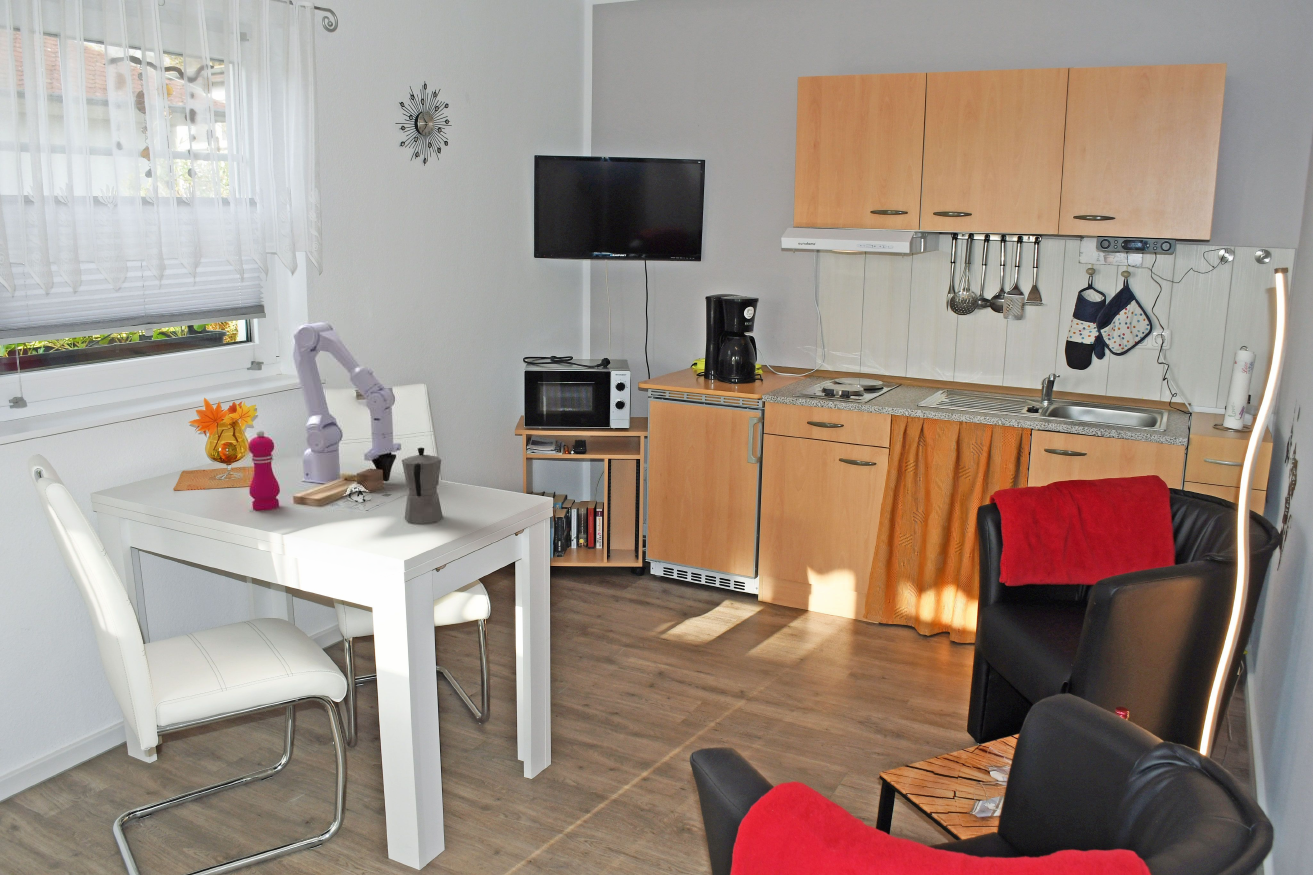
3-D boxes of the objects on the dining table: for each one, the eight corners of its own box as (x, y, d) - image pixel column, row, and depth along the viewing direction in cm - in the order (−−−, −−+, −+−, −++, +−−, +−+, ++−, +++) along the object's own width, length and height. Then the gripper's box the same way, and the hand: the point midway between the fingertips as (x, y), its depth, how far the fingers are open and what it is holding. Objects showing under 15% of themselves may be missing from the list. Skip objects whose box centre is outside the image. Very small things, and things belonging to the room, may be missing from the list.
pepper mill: (270, 512, 244) (264, 433, 240) (244, 510, 246) (238, 432, 242) (286, 504, 251) (281, 428, 247) (261, 502, 253) (255, 426, 249)
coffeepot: (408, 511, 246) (405, 441, 242) (446, 511, 247) (443, 441, 243) (398, 530, 231) (395, 456, 227) (439, 529, 232) (436, 455, 228)
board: (293, 503, 252) (292, 495, 252) (344, 483, 272) (344, 476, 271) (319, 506, 250) (318, 498, 249) (369, 486, 269) (368, 479, 269)
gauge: (335, 488, 266) (334, 471, 265) (349, 483, 272) (348, 466, 271) (370, 492, 263) (369, 474, 262) (383, 487, 268) (382, 469, 267)
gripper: (378, 439, 261) (381, 488, 264) (409, 428, 274) (411, 475, 277) (356, 436, 263) (359, 485, 266) (388, 426, 277) (390, 473, 280)
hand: (384, 480), depth 272 cm, fingers closed
